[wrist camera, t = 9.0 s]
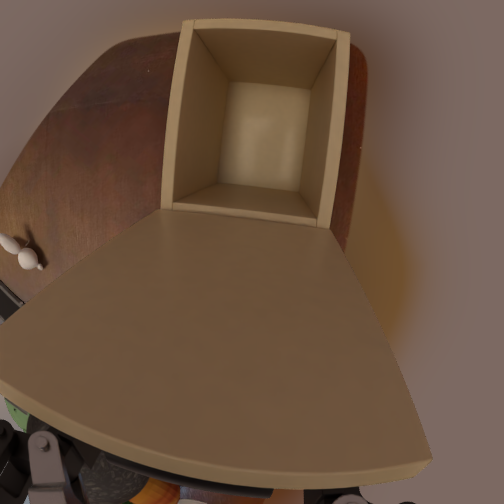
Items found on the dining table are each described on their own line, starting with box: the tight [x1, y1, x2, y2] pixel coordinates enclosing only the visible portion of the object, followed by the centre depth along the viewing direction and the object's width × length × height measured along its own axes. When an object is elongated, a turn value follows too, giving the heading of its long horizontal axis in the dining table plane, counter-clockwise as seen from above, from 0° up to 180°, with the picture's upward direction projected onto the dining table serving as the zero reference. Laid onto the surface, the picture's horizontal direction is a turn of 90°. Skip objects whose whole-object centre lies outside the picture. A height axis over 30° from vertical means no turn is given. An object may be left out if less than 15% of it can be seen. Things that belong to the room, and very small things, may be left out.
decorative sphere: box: [26, 414, 150, 504], centre depth 29 cm, size 20×20×20 cm
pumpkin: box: [122, 477, 180, 504], centre depth 39 cm, size 19×19×15 cm
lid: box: [0, 209, 433, 498], centre depth 9 cm, size 12×9×5 cm
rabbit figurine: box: [0, 233, 43, 270], centre depth 29 cm, size 6×4×8 cm
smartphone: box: [0, 281, 24, 322], centre depth 34 cm, size 15×8×1 cm, turn 60°
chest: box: [161, 19, 350, 230], centre depth 19 cm, size 11×9×13 cm
